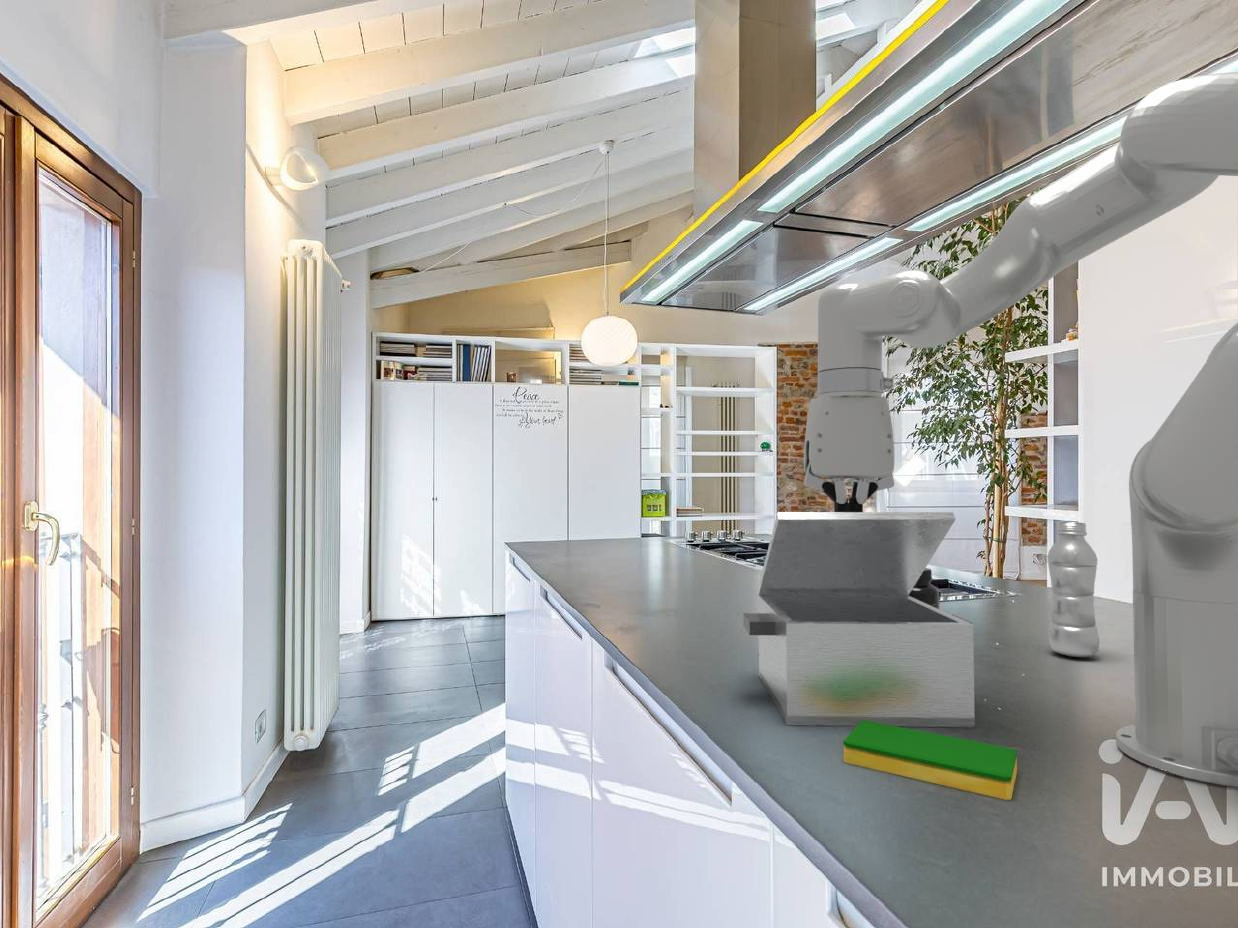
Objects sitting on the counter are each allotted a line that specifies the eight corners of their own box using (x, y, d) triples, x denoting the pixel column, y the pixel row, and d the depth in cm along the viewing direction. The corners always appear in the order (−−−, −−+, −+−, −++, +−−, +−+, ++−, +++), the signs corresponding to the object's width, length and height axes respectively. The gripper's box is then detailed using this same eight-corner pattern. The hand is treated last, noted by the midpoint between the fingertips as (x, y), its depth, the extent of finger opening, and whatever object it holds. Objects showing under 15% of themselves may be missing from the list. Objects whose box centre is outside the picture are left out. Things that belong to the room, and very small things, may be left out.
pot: (1003, 727, 72) (1001, 624, 73) (759, 724, 73) (758, 623, 74) (931, 677, 90) (930, 595, 91) (736, 676, 91) (736, 594, 92)
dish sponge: (862, 741, 70) (862, 718, 70) (1017, 774, 62) (1017, 748, 62) (842, 766, 64) (842, 740, 64) (1011, 806, 56) (1010, 776, 56)
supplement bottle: (921, 636, 114) (920, 565, 115) (950, 645, 108) (949, 570, 108) (885, 638, 113) (884, 566, 113) (912, 648, 106) (911, 572, 106)
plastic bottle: (1050, 658, 100) (1048, 523, 100) (1046, 648, 106) (1044, 521, 106) (1103, 664, 97) (1101, 524, 97) (1096, 653, 103) (1093, 522, 103)
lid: (955, 519, 77) (948, 498, 79) (778, 519, 78) (775, 498, 80) (908, 595, 91) (902, 575, 93) (758, 594, 92) (756, 575, 93)
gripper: (899, 391, 87) (898, 534, 87) (782, 390, 88) (781, 532, 87) (923, 383, 79) (922, 539, 79) (794, 383, 80) (793, 538, 80)
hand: (848, 535), depth 83 cm, fingers closed
